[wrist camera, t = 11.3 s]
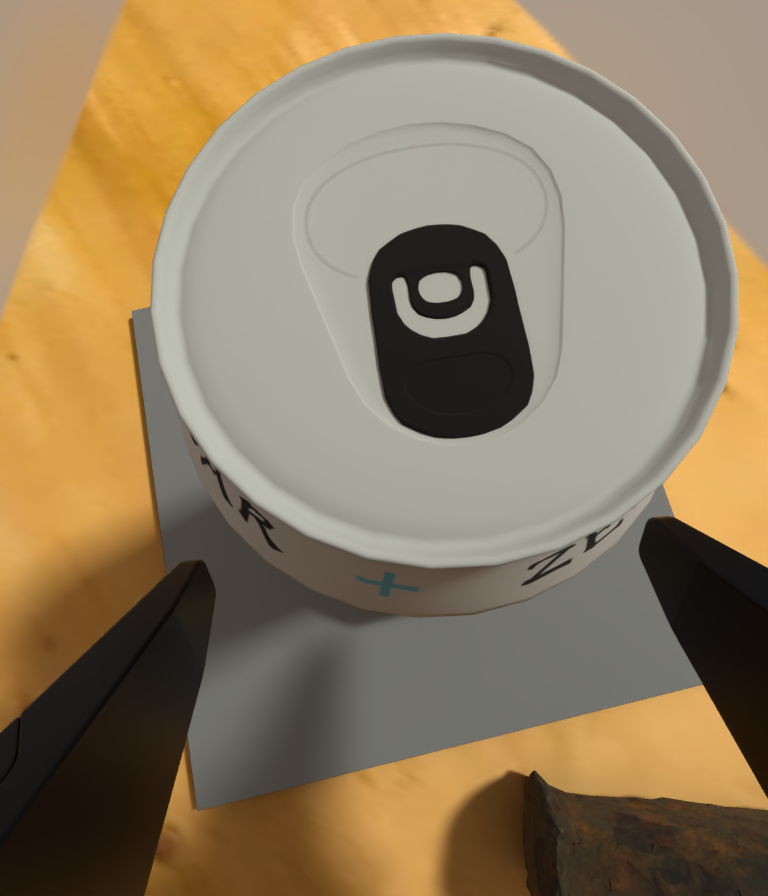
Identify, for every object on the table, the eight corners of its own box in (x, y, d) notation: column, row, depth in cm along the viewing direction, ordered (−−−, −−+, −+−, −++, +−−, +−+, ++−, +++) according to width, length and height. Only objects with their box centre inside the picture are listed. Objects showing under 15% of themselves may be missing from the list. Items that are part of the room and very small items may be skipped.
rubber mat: (724, 674, 17) (732, 677, 17) (202, 804, 17) (197, 811, 16) (562, 220, 21) (565, 214, 21) (136, 315, 21) (131, 311, 20)
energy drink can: (464, 401, 19) (697, -63, 4) (493, 547, 18) (943, 589, 3) (322, 423, 19) (70, 32, 4) (341, 570, 18) (81, 722, 3)
